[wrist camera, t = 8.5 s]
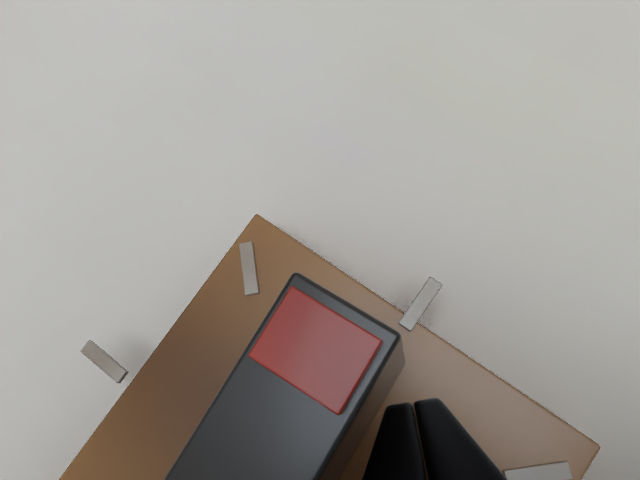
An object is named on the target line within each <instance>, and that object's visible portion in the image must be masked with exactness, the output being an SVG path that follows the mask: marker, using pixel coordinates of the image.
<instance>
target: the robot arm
mask: <svg viewBox="0 0 640 480" xmlns="http://www.w3.org/2000/svg"><path fill="white" fill-rule="evenodd" d="M414 411H415V413H414ZM415 416H416V418H415ZM416 421H417V423H416ZM417 427H418V428H417ZM418 432H419V433H418ZM419 437H420V438H419ZM420 442H421V443H420ZM421 447H422V448H421ZM422 452H423V453H422ZM423 457H424V458H423ZM424 462H425V463H424ZM425 467H426V469H425ZM426 472H427V474H426ZM427 477H428V479H427ZM362 480H507V478H506V477H505V476H504V475H503V474H502V472H501V471H500V470H499V469H498V468H497V466H496V465H495V464H494V463H493V462H492V460H491V459H490V458H489V457H488V456H487V454H486V453H485V452H484V451H483V450H482V448H481V447H480V446H479V445H478V444H477V442H476V441H475V440H474V439H473V438H472V436H471V435H470V434H469V433H468V432H467V430H466V429H465V428H464V427H463V426H462V424H461V423H460V422H459V421H458V420H457V418H456V417H455V416H454V415H453V414H452V412H451V411H450V410H449V409H448V408H447V406H446V405H445V404H444V403H443V402H442V401H441V400H440V399H439V398H430V399H424V400H418V401H416V402H414V408H413V405H412V404H411V403H409V402H406V403H400V404H394V405H389V406H387V407H386V409H385V411H384V414H383V417H382V420H381V423H380V426H379V430H378V433H377V436H376V439H375V442H374V445H373V448H372V451H371V454H370V457H369V460H368V463H367V466H366V469H365V472H364V476H363V479H362Z"/></svg>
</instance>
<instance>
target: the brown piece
mask: <svg viewBox="0 0 640 480" xmlns="http://www.w3.org/2000/svg"><path fill="white" fill-rule="evenodd" d="M295 272H298V273H301V274H302V275H304V276H306V277H307V278H309V279H311V280H312V281H314V282H316V283H317V284H319V285H321V286H322V287H324V288H326V289H327V290H329V291H331V292H333V293H334V294H336V295H338V296H339V297H341V298H343V299H344V300H346V301H348V302H349V303H351V304H353V305H354V306H356V307H358V308H360V309H361V310H363V311H365V312H366V313H368V314H370V315H371V316H373V317H375V318H376V319H378V320H380V321H381V322H383V323H385V324H386V325H388V326H390V327H392V328H393V329H395V330H397V331H398V332H399V333H400V334H401V338H402V344H403V351H404V357H405V365H404V367H403V369H402V370H401V372H400V374H399V376H398V377H397V379H396V381H395V383H394V384H393V386H392V388H391V390H390V391H389V393H388V395H387V396H386V398H385V400H384V402H383V403H382V405H381V407H380V409H379V410H378V412H377V414H376V416H375V417H374V419H373V421H372V423H371V424H370V426H369V428H368V430H367V431H366V433H365V435H364V437H363V438H362V440H361V442H360V444H359V445H358V447H357V449H356V451H355V452H354V454H353V456H352V458H351V459H350V461H349V463H348V465H347V466H346V468H345V470H344V472H343V473H342V475H341V477H340V479H339V480H362V479H363V476H364V472H365V469H366V466H367V463H368V460H369V457H370V454H371V451H372V448H373V445H374V442H375V439H376V436H377V433H378V430H379V426H380V423H381V420H382V417H383V414H384V411H385V409H386V407H387V406H389V405H394V404H400V403H406V402H409V403H411V404H412V405H413V408H414V402H416V401H418V400H424V399H430V398H439V399H440V400H441V401H442V402H443V403H444V404H445V405H446V406H447V408H448V409H449V410H450V411H451V412H452V414H453V415H454V416H455V417H456V418H457V420H458V421H459V422H460V423H461V424H462V426H463V427H464V428H465V429H466V430H467V432H468V433H469V434H470V435H471V436H472V438H473V439H474V440H475V441H476V442H477V444H478V445H479V446H480V447H481V448H482V450H483V451H484V452H485V453H486V454H487V456H488V457H489V458H490V459H491V460H492V462H493V463H494V464H495V465H496V466H497V468H498V469H499V470H500V471H501V472H502V474H503V475H504V476H505V477H506V478H507V480H581V479H582V477H583V476H584V474H585V472H586V471H587V469H588V467H589V466H590V464H591V463H592V461H593V459H594V458H595V456H596V454H597V453H598V451H599V449H600V446H599V444H597V443H596V442H594V441H593V440H591V439H590V438H588V437H587V436H585V435H584V434H582V433H581V432H579V431H578V430H576V429H575V428H573V427H572V426H571V425H569V424H568V423H566V422H565V421H563V420H562V419H560V418H559V417H557V416H556V415H554V414H553V413H551V412H550V411H548V410H547V409H545V408H544V407H542V406H541V405H539V404H538V403H536V402H535V401H534V400H532V399H531V398H529V397H528V396H526V395H525V394H523V393H522V392H520V391H519V390H517V389H516V388H514V387H513V386H511V385H510V384H508V383H507V382H505V381H504V380H502V379H501V378H499V377H498V376H496V375H495V374H494V373H492V372H491V371H489V370H488V369H486V368H485V367H483V366H482V365H480V364H479V363H477V362H476V361H474V360H473V359H471V358H470V357H468V356H467V355H465V354H464V353H462V352H461V351H459V350H458V349H456V348H455V347H454V346H452V345H451V344H449V343H448V342H446V341H445V340H443V339H442V338H440V337H439V336H437V335H436V334H434V333H433V332H431V331H430V330H428V329H427V328H425V327H424V326H422V325H421V324H419V323H418V321H419V319H420V318H421V316H422V315H423V313H424V312H425V310H426V309H427V307H428V306H429V304H430V303H431V301H432V300H433V298H434V297H435V296H436V294H437V293H438V291H439V290H440V288H441V287H442V284H441V283H440V282H438V281H437V280H435V279H433V278H432V277H429V279H428V280H427V282H426V283H425V285H424V286H423V288H422V289H421V291H420V292H419V293H418V295H417V296H416V298H415V299H414V301H413V302H412V304H411V305H410V307H409V308H408V310H407V311H406V313H403V312H402V311H400V310H399V309H397V308H396V307H394V306H393V305H391V304H390V303H388V302H387V301H385V300H384V299H382V298H381V297H379V296H378V295H377V294H375V293H374V292H372V291H371V290H369V289H368V288H366V287H365V286H363V285H362V284H360V283H359V282H357V281H356V280H354V279H353V278H351V277H350V276H348V275H347V274H345V273H344V272H342V271H341V270H340V269H338V268H337V267H335V266H334V265H332V264H331V263H329V262H328V261H326V260H325V259H323V258H322V257H320V256H319V255H317V254H316V253H314V252H313V251H311V250H310V249H308V248H307V247H305V246H304V245H302V244H301V243H300V242H298V241H297V240H295V239H294V238H292V237H291V236H289V235H288V234H286V233H285V232H283V231H282V230H280V229H279V228H277V227H276V226H274V225H273V224H271V223H270V222H268V221H267V220H265V219H264V218H262V217H261V216H260V215H258V214H256V215H255V216H254V217H253V219H252V220H251V221H250V223H249V224H248V225H247V227H246V228H245V229H244V231H243V232H242V233H241V235H240V236H239V237H238V239H237V240H236V242H235V243H234V244H233V246H232V247H231V248H230V250H229V251H228V252H227V254H226V255H225V256H224V258H223V259H222V260H221V262H220V263H219V264H218V266H217V267H216V269H215V270H214V271H213V273H212V274H211V275H210V277H209V278H208V279H207V281H206V282H205V283H204V285H203V286H202V287H201V289H200V290H199V291H198V293H197V294H196V296H195V297H194V298H193V300H192V301H191V302H190V304H189V305H188V306H187V308H186V309H185V310H184V312H183V313H182V314H181V316H180V317H179V318H178V320H177V321H176V322H175V324H174V325H173V327H172V328H171V329H170V331H169V332H168V333H167V335H166V336H165V337H164V339H163V340H162V341H161V343H160V344H159V345H158V347H157V348H156V349H155V351H154V352H153V354H152V355H151V356H150V358H149V359H148V360H147V362H146V363H145V364H144V366H143V367H142V368H141V370H140V371H139V372H138V374H137V375H136V376H135V378H134V379H133V380H132V382H131V383H130V385H129V386H128V387H127V389H126V390H125V391H124V393H123V394H122V395H121V397H120V398H119V399H118V401H117V402H116V403H115V405H114V406H113V407H112V409H111V410H110V412H109V413H108V414H107V416H106V417H105V418H104V420H103V421H102V422H101V424H100V425H99V426H98V428H97V429H96V430H95V432H94V433H93V434H92V436H91V437H90V438H89V440H88V441H87V443H86V444H85V445H84V447H83V448H82V449H81V451H80V452H79V453H78V455H77V456H76V457H75V459H74V460H73V461H72V463H71V464H70V465H69V467H68V468H67V470H66V471H65V472H64V474H63V475H62V476H61V478H60V479H59V480H164V478H165V477H166V475H167V474H168V472H169V470H170V469H171V467H172V466H173V464H174V462H175V461H176V459H177V458H178V456H179V454H180V453H181V451H182V450H183V448H184V446H185V445H186V443H187V442H188V440H189V438H190V437H191V435H192V434H193V432H194V430H195V429H196V427H197V426H198V424H199V422H200V421H201V419H202V418H203V416H204V414H205V413H206V411H207V410H208V408H209V406H210V405H211V403H212V401H213V400H214V398H215V397H216V395H217V393H218V392H219V390H220V389H221V387H222V385H223V384H224V382H225V381H226V379H227V377H228V376H229V374H230V373H231V371H232V369H233V368H234V366H235V365H236V363H237V361H238V360H239V358H240V357H241V355H242V353H243V352H244V350H245V349H246V347H247V345H248V344H249V342H250V341H251V339H252V337H253V336H254V334H255V332H256V331H257V329H258V328H259V326H260V324H261V323H262V321H263V320H264V318H265V316H266V315H267V313H268V312H269V310H270V308H271V307H272V305H273V304H274V302H275V300H276V299H277V297H278V296H279V294H280V292H281V291H282V289H283V288H284V286H285V284H286V283H287V281H288V280H289V278H290V276H291V275H292V274H293V273H295ZM81 352H82V353H83V354H84V355H85V356H86V357H88V358H89V359H90V360H91V361H92V362H93V363H94V364H96V365H97V366H98V367H99V368H100V369H101V370H103V371H104V372H105V373H106V374H107V375H108V376H110V377H111V378H112V379H113V380H114V381H115V382H116V383H121V381H122V380H123V379H124V377H125V376H126V375H127V373H128V371H127V370H126V369H125V368H123V367H122V366H121V365H120V364H119V363H117V362H116V361H115V360H114V359H113V358H112V357H110V356H109V355H108V354H107V353H106V352H105V351H103V350H102V349H101V348H100V347H99V346H97V345H96V344H95V343H94V342H93V341H88V342H87V343H86V345H85V346H84V347H83V349H82V350H81ZM414 413H415V411H414ZM415 418H416V416H415ZM416 423H417V421H416ZM417 428H418V427H417ZM418 433H419V432H418ZM419 438H420V437H419ZM420 443H421V442H420ZM421 448H422V447H421ZM422 453H423V452H422ZM423 458H424V457H423ZM424 463H425V462H424ZM425 469H426V467H425ZM426 474H427V472H426ZM427 479H428V477H427Z"/></svg>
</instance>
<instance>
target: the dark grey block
mask: <svg viewBox="0 0 640 480" xmlns="http://www.w3.org/2000/svg"><path fill="white" fill-rule="evenodd" d="M404 365H405V357H404V351H403V344H402V338H401V334H400V333H399V332H398V331H397V330H395V329H393V328H392V327H390V326H388V325H386V324H385V323H383V322H381V321H380V320H378V319H376V318H375V317H373V316H371V315H370V314H368V313H366V312H365V311H363V310H361V309H360V308H358V307H356V306H354V305H353V304H351V303H349V302H348V301H346V300H344V299H343V298H341V297H339V296H338V295H336V294H334V293H333V292H331V291H329V290H327V289H326V288H324V287H322V286H321V285H319V284H317V283H316V282H314V281H312V280H311V279H309V278H307V277H306V276H304V275H302V274H301V273H298V272H295V273H293V274H292V275H291V276H290V278H289V280H288V281H287V283H286V284H285V286H284V288H283V289H282V291H281V292H280V294H279V296H278V297H277V299H276V300H275V302H274V304H273V305H272V307H271V308H270V310H269V312H268V313H267V315H266V316H265V318H264V320H263V321H262V323H261V324H260V326H259V328H258V329H257V331H256V332H255V334H254V336H253V337H252V339H251V341H250V342H249V344H248V345H247V347H246V349H245V350H244V352H243V353H242V355H241V357H240V358H239V360H238V361H237V363H236V365H235V366H234V368H233V369H232V371H231V373H230V374H229V376H228V377H227V379H226V381H225V382H224V384H223V385H222V387H221V389H220V390H219V392H218V393H217V395H216V397H215V398H214V400H213V401H212V403H211V405H210V406H209V408H208V410H207V411H206V413H205V414H204V416H203V418H202V419H201V421H200V422H199V424H198V426H197V427H196V429H195V430H194V432H193V434H192V435H191V437H190V438H189V440H188V442H187V443H186V445H185V446H184V448H183V450H182V451H181V453H180V454H179V456H178V458H177V459H176V461H175V462H174V464H173V466H172V467H171V469H170V470H169V472H168V474H167V475H166V477H165V478H164V480H339V479H340V477H341V475H342V473H343V472H344V470H345V468H346V466H347V465H348V463H349V461H350V459H351V458H352V456H353V454H354V452H355V451H356V449H357V447H358V445H359V444H360V442H361V440H362V438H363V437H364V435H365V433H366V431H367V430H368V428H369V426H370V424H371V423H372V421H373V419H374V417H375V416H376V414H377V412H378V410H379V409H380V407H381V405H382V403H383V402H384V400H385V398H386V396H387V395H388V393H389V391H390V390H391V388H392V386H393V384H394V383H395V381H396V379H397V377H398V376H399V374H400V372H401V370H402V369H403V367H404Z"/></svg>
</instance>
